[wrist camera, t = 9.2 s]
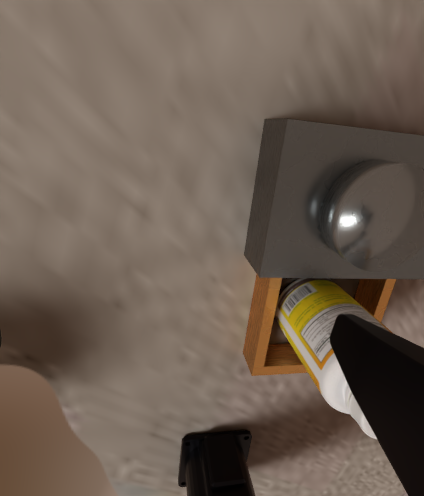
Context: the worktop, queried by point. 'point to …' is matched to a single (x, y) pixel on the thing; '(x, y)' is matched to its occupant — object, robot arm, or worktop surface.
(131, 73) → the worktop surface
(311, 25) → the worktop surface
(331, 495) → the worktop surface
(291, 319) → the supplement bottle
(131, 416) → the worktop surface
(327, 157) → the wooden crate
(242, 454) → the robot arm
